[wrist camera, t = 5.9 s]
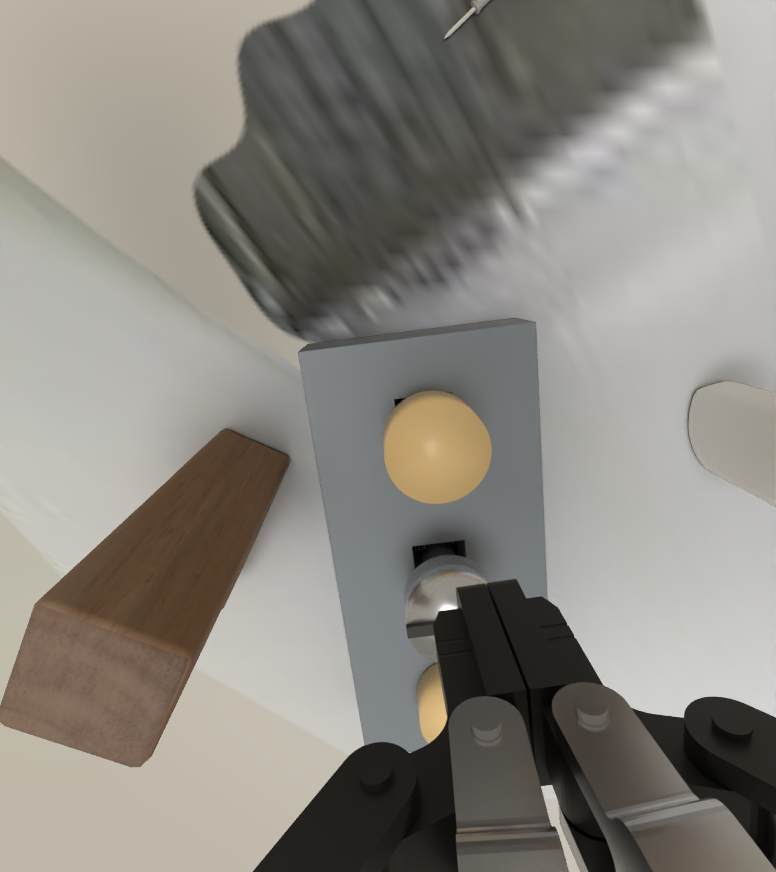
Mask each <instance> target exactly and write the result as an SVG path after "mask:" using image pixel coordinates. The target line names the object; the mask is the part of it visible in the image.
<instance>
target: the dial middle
mask: <svg viewBox="0 0 776 872" xmlns="http://www.w3.org/2000/svg"><path fill="white" fill-rule="evenodd" d="M489 582H491V581H490V579H489V577H488V575H487V573H486V572H485V571H484V569H483V568H482V567H481V566H480V565H478V564H477V563H476V562H474V561H472V560H470V559H468V558H465V557H462V556H457V555H455V552H454V550H453V548H452V547H451V546H449V545H448V544H445V543H436V544H431V545H429V546H428V547H427V548H426V549H425V550H424V552H423V554H422V564H421V565H419V566H418V567H417V568H416V569H415V570H414V571H413V572H412V573H411V575H410V576H409V578H408V580H407V582H406V584H405V588H404V595H403V596H404V608H405V618H406V629H407V637H408V639H409V640H410V642H411V643H412V645H413V647H414V648H415V649H416V650H417V651H418V652H419V653H420V654H421V655H423V656H424V657H425V658H427V659H429V660H431V661H434V662H437V663H438V660H437V653H436V645H435V638H434V631H433V624H434V622H435V619H436V617H437V614H438V612H439V611H444V610H451V609H457V608H458V606H457V598H456V587H462V586H469V585H476V584H483V583H485V584H486V583H489Z"/></svg>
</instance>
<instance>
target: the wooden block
mask: <svg viewBox="0 0 776 872" xmlns="http://www.w3.org/2000/svg"><path fill="white" fill-rule="evenodd" d="M288 466H289V458H288V457H287V456H286V455H284V454H282V453H280V452H277V451H275V450H273V449H270V448H268V447H266V446H263V445H261V444H259V443H257V442H254V441H252V440H250V439H247V438H245V437H243V436H240V435H238V434H236V433H233V432H231V431H229V430H222V431H221V432H220V433H219V434H217V435H216V436H215V437H214V438H213V439H212V440H211V441H210V442H209V443H208V444H206V445H205V446H204V447H203V448H202V449H201V450H200V451H199V452H198V453H197V454H195V455H194V456H193V457H192V458H191V459H190V460H189V461H188V462H187V463H186V464H185V465H184V466H183V467H182V468H181V469H180V470H178V471H177V472H176V473H175V474H174V475H173V476H172V477H171V478H170V479H169V480H168V481H167V482H166V483H165V484H164V485H163V486H161V487H160V488H159V489H158V490H157V491H156V492H155V493H154V494H153V495H152V496H151V497H150V498H149V499H147V500H146V501H145V502H144V503H143V504H142V505H141V506H140V507H139V508H138V509H137V510H136V511H135V512H133V513H132V514H131V515H130V516H129V517H128V518H127V519H126V520H125V521H124V522H123V523H122V524H120V525H119V526H118V527H117V528H116V529H115V530H114V531H113V532H112V533H111V534H110V535H109V536H108V537H106V538H105V539H104V540H103V541H102V542H101V543H100V544H99V545H98V546H97V547H96V548H95V549H94V550H92V551H91V552H90V553H89V554H88V555H87V556H86V557H85V558H84V559H83V560H82V561H81V562H80V563H78V564H77V565H76V566H75V567H74V568H73V569H72V570H71V571H70V572H69V573H68V574H67V575H65V576H64V577H63V578H62V579H61V580H60V581H59V582H58V583H57V584H56V585H55V586H54V587H53V588H51V590H49V591H48V592H47V593H46V594H45V595H44V596H43V597H42V598H41V599H40V600H39V601H38V602H37V603H36V604H35V605H34V608H33V611H32V614H31V617H30V620H29V623H28V626H27V629H26V632H25V634H24V637H23V640H22V643H21V646H20V650H19V652H18V655H17V658H16V661H15V664H14V667H13V670H12V673H11V676H10V678H9V681H8V684H7V687H6V690H5V693H4V696H3V699H2V702H1V705H0V722H1V723H2V724H3V725H4V726H7V727H9V728H12V729H16V730H19V731H22V732H25V733H28V734H31V735H34V736H37V737H40V738H43V739H46V740H49V741H53V742H56V743H59V744H62V745H65V746H68V747H71V748H74V749H77V750H80V751H83V752H86V753H89V754H93V755H96V756H99V757H102V758H105V759H108V760H111V761H114V762H117V763H120V764H123V765H126V766H129V767H141V765H143V763H145V761H147V760H148V759H149V758H150V757H151V756H152V754H153V752H154V750H155V748H156V746H157V744H158V742H159V740H160V737H161V735H162V733H163V731H164V729H165V727H166V725H167V723H168V721H169V718H170V716H171V714H172V712H173V710H174V708H175V706H176V704H177V702H178V700H179V697H180V695H181V693H182V691H183V689H184V687H185V685H186V683H187V681H188V679H189V676H190V674H191V672H192V670H193V668H194V666H195V664H196V662H197V660H198V658H199V655H200V653H201V651H202V649H203V647H204V645H205V643H206V641H207V639H208V636H209V634H210V632H211V630H212V628H213V626H214V624H215V622H216V620H217V618H218V615H219V613H220V611H221V610H222V609H223V608H224V606H225V604H226V602H227V600H228V598H229V595H230V593H231V591H232V589H233V587H234V585H235V583H236V581H237V578H238V576H239V574H240V572H241V570H242V568H243V565H244V563H245V561H246V559H247V557H248V554H249V552H250V550H251V548H252V545H253V543H254V541H255V539H256V537H257V534H258V532H259V530H260V528H261V525H262V523H263V521H264V519H265V517H266V514H267V512H268V510H269V508H270V506H271V503H272V501H273V499H274V497H275V494H276V492H277V490H278V488H279V486H280V483H281V481H282V479H283V477H284V475H285V472H286V470H287V468H288Z"/></svg>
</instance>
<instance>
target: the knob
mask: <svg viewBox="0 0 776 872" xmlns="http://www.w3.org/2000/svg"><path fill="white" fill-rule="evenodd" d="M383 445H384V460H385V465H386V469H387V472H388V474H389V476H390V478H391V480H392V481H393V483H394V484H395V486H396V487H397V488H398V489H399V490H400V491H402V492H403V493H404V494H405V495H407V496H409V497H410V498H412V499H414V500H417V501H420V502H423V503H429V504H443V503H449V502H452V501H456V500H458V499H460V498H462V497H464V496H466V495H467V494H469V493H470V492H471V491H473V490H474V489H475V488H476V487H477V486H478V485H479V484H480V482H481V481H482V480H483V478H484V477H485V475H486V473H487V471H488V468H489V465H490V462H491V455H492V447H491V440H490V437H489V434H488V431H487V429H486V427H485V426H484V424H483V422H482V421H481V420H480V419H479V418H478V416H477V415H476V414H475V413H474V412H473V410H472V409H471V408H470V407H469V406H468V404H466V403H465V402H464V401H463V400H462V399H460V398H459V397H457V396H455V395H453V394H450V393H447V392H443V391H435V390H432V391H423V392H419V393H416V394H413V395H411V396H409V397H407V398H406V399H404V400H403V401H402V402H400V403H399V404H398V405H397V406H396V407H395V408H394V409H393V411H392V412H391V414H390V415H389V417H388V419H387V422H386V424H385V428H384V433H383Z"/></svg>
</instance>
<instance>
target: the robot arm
mask: <svg viewBox="0 0 776 872" xmlns="http://www.w3.org/2000/svg"><path fill="white" fill-rule="evenodd" d="M456 598H457V606H458V608H457V609H451V610H444V611H439V612H438V614H437V617H436V619H435V622H434V624H433V631H434V638H435V645H436V653H437V660H438V667H439V674H440V680H441V686H442V692H443V697H444V703H445V709H446V714H447V721H446V724H445V726H444V728H443V730H442V731H441V733H440V734H439V735H438V736H437V737H436V738H435V739H434V740H433V741H432V742H430V743H429V744H427V745H426V746H424V747H422V748H420V749H418V750H416V751H413V752H411V753H408V752H407V751H406V750H405V749H404V748H402V747H400V746H399V745H396V744H393V743H389V742H375V743H371V744H367V745H365V746H362V747H361V748H359V749H357V750H356V751H354V752H353V753H352V754H351V755H350V756H349V757H348V758H347V759H346V760H345V761H344V762H343V764H342V765H341V766H340V767H339V768H338V770H337V771H336V772H335V773H334V774H333V776H332V777H331V778H330V779H329V780H328V782H327V783H326V784H325V785H324V787H323V788H322V789H321V790H320V791H319V793H318V794H317V795H316V796H315V797H314V799H313V800H312V801H311V802H310V803H309V805H308V806H307V807H306V808H305V809H304V811H303V812H302V813H301V814H300V815H299V817H298V818H297V819H296V820H295V821H294V823H293V824H292V825H291V826H290V827H289V829H288V830H287V831H286V832H285V833H284V835H283V836H282V837H281V838H280V839H279V841H278V842H277V843H276V844H275V846H274V847H273V848H272V849H271V850H270V852H269V853H268V854H267V855H266V856H265V858H264V859H263V860H262V861H261V862H260V864H259V865H258V866H257V867H256V869H255V870H254V871H253V872H569V871H568V867H567V863H566V859H565V856H564V852H563V848H562V845H561V841H560V838H559V835H558V832H557V830H556V828H555V827H552V826H551V823H550V820H549V817H548V813H547V809H546V805H545V801H544V797H543V793H542V789H541V786H545V785H553V788H554V791H555V793H556V796H557V799H558V805H559V819H560V824H561V827H562V830H563V833H564V835H565V837H566V840H567V842H568V844H569V846H570V849H571V851H572V854H573V856H574V858H575V860H576V863H577V865H578V867H579V870H580V872H776V718H775V717H773V716H771V715H769V714H766V713H764V712H762V711H760V710H758V709H755V708H753V707H751V706H749V705H746V704H744V703H741V702H739V701H736V700H732V699H728V698H723V697H704V698H700V699H697V700H695V701H693V702H692V703H690V704H689V705H688V707H687V708H686V710H685V714H684V718H680V717H672V716H664V715H656V714H650V713H645V712H641V711H638V710H635V709H633V708H631V707H630V706H629V704H628V703H627V702H626V701H625V699H624V698H623V697H621V696H620V695H619V694H618V693H616V692H615V691H613V690H612V689H610V688H608V687H605V686H603V684H602V682H601V681H600V679H599V677H598V676H597V674H596V672H595V670H594V669H593V667H592V665H591V664H590V662H589V660H588V658H587V657H586V655H585V653H584V652H583V650H582V648H581V646H580V645H579V643H578V641H577V640H576V638H574V634H573V633H572V631H571V629H570V628H569V626H567V622H566V621H565V619H564V617H563V616H562V614H561V612H560V610H559V609H558V608H557V607H556V606H555V605H553V604H552V603H551V602H549V601H548V600H546V599H545V598H544V597H542V596H540V597H533V598H526V597H525V595H524V593H523V591H522V589H521V587H520V585H519V583H518V581H517V579H509V580H503V581H496V582H489V583H486V584H485V583H483V584H476V585H469V586H462V587H456Z"/></svg>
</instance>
